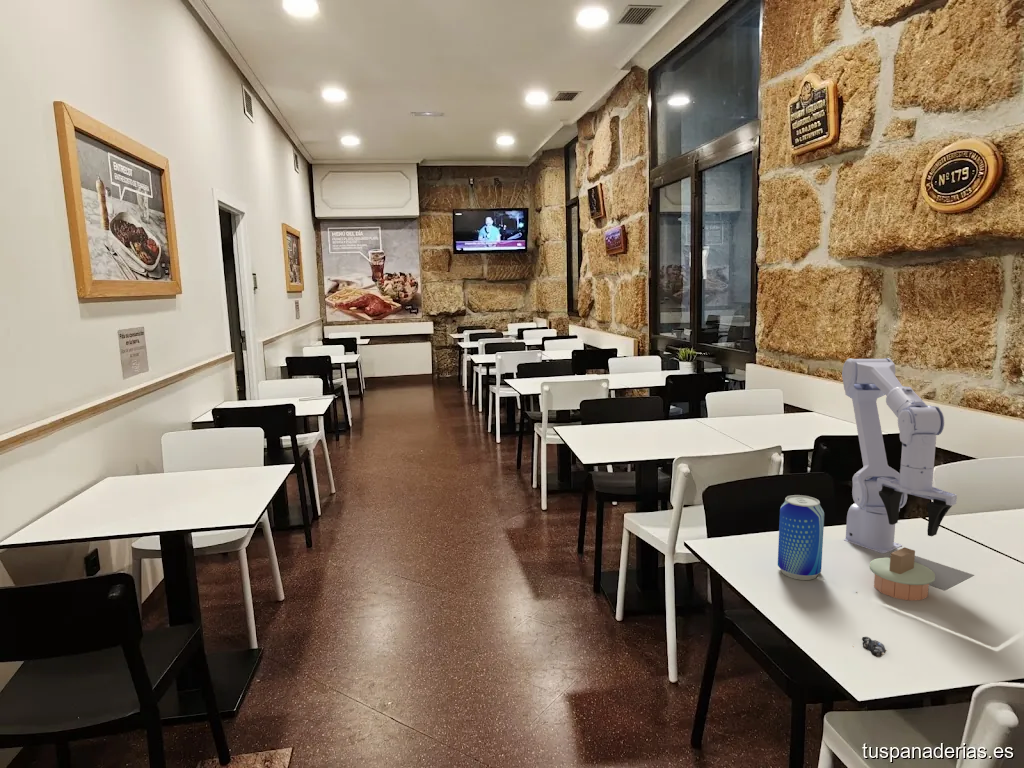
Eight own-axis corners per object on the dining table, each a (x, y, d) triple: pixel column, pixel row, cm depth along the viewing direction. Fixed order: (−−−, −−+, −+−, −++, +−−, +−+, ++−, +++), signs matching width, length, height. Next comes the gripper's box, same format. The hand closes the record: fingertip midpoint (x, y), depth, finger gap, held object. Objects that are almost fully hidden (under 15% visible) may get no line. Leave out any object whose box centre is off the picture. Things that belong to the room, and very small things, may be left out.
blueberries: (861, 665, 104) (862, 655, 104) (837, 635, 112) (838, 625, 112) (903, 665, 104) (904, 655, 104) (876, 634, 112) (877, 625, 112)
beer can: (826, 571, 136) (830, 499, 134) (812, 585, 130) (816, 509, 128) (786, 561, 142) (789, 491, 139) (771, 573, 136) (774, 501, 133)
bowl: (864, 588, 128) (865, 569, 128) (889, 577, 133) (890, 558, 132) (911, 606, 121) (913, 586, 120) (936, 594, 125) (937, 574, 125)
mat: (882, 570, 136) (882, 568, 136) (912, 557, 142) (913, 554, 142) (944, 592, 126) (944, 590, 126) (974, 577, 132) (974, 575, 132)
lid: (857, 568, 128) (859, 548, 127) (888, 556, 134) (889, 536, 133) (916, 590, 119) (917, 568, 118) (946, 575, 124) (947, 555, 124)
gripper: (870, 460, 135) (866, 522, 137) (946, 477, 122) (940, 545, 124) (889, 455, 138) (884, 515, 140) (964, 471, 126) (958, 537, 128)
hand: (912, 529), depth 133 cm, fingers open, 7 cm apart
